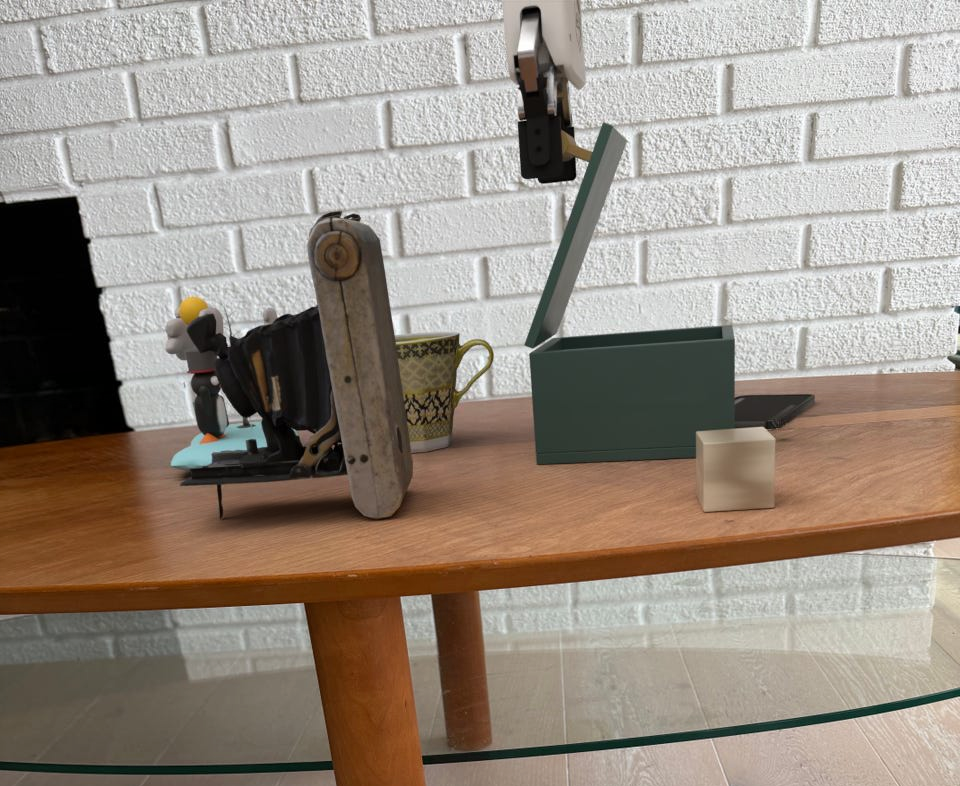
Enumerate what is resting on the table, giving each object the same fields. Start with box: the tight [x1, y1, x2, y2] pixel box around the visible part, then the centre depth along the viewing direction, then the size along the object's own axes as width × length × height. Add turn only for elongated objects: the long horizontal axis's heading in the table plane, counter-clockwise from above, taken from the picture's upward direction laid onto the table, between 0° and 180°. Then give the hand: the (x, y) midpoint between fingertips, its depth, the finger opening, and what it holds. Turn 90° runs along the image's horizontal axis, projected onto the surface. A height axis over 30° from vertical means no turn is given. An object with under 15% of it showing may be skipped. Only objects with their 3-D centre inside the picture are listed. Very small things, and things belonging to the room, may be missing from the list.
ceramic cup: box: [395, 331, 495, 454], centre depth 94 cm, size 13×10×10 cm
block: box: [695, 427, 777, 513], centre depth 65 cm, size 4×4×4 cm
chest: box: [528, 324, 736, 466], centre depth 85 cm, size 16×13×9 cm
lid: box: [524, 122, 628, 349], centre depth 82 cm, size 17×13×5 cm
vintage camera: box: [179, 210, 414, 520], centre depth 71 cm, size 10×16×20 cm, turn 88°
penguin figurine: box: [164, 296, 298, 472], centre depth 95 cm, size 20×11×15 cm, turn 1°
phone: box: [735, 393, 816, 430], centre depth 96 cm, size 8×1×15 cm
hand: (550, 178), depth 80 cm, fingers open, 7 cm apart
